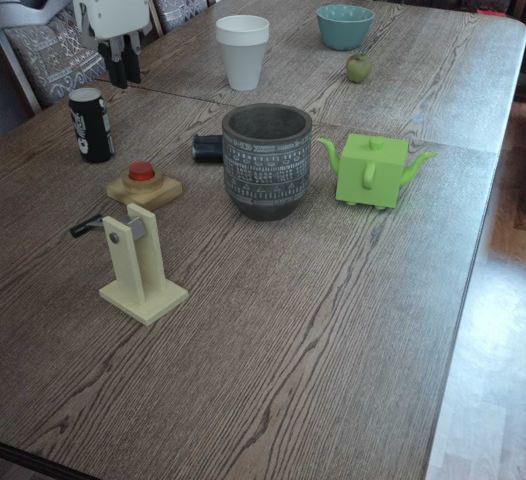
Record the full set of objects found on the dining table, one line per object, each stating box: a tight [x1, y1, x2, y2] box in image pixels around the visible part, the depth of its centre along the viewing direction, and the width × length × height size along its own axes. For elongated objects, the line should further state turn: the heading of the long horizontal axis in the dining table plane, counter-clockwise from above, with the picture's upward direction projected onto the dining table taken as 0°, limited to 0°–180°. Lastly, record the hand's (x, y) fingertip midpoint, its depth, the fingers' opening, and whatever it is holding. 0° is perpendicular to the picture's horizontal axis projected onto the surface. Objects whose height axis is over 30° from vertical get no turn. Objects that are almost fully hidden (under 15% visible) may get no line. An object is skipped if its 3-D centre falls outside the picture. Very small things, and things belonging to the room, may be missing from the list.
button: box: [128, 161, 154, 181], centre depth 95 cm, size 4×4×2 cm
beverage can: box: [67, 87, 116, 164], centre depth 104 cm, size 7×7×12 cm
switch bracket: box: [98, 203, 190, 328], centre depth 74 cm, size 10×8×13 cm
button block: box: [104, 164, 184, 213], centre depth 97 cm, size 10×9×4 cm
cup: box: [215, 14, 270, 92], centre depth 129 cm, size 12×12×14 cm
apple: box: [345, 53, 371, 84], centre depth 135 cm, size 6×8×6 cm
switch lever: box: [69, 213, 147, 241], centre depth 74 cm, size 13×5×2 cm, turn 50°
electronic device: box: [191, 132, 224, 163], centre depth 107 cm, size 9×6×15 cm
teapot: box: [316, 133, 438, 210], centre depth 94 cm, size 15×13×11 cm
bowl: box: [315, 4, 375, 51], centre depth 152 cm, size 16×16×8 cm
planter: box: [221, 102, 313, 222], centre depth 90 cm, size 14×14×15 cm
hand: (126, 83), depth 84 cm, fingers closed
